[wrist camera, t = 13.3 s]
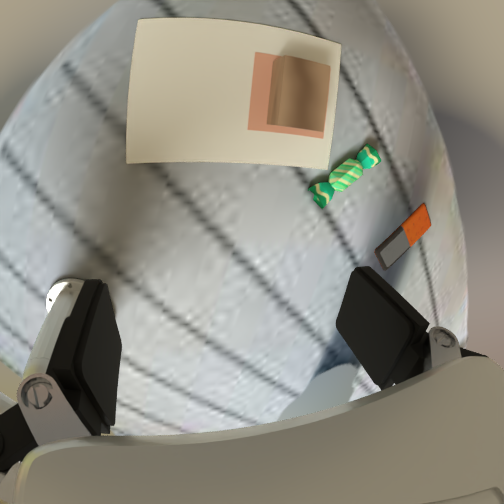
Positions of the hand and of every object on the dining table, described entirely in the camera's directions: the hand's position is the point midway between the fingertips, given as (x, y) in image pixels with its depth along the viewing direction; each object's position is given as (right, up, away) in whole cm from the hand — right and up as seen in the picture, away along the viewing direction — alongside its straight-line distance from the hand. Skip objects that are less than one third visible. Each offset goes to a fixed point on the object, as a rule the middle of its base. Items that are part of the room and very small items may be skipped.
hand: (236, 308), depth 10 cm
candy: (+14, +14, +30) cm, 36 cm away
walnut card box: (+6, +23, +22) cm, 32 cm away
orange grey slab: (+31, +5, +40) cm, 50 cm away
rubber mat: (-1, +23, +21) cm, 31 cm away
